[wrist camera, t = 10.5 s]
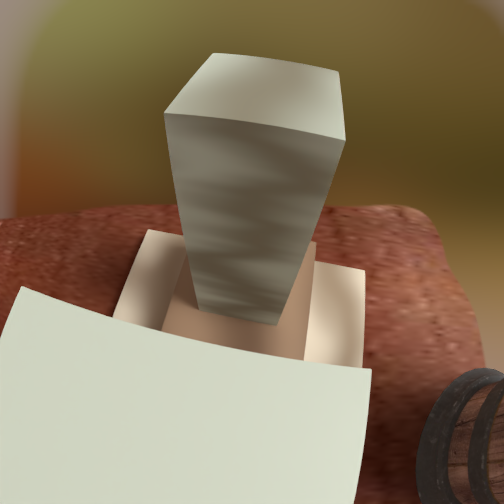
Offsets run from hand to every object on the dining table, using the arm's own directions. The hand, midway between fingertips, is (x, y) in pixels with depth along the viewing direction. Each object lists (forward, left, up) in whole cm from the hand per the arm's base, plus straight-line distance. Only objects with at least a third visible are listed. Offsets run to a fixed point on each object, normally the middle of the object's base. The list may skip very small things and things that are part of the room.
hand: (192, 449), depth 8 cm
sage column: (0, -1, -8) cm, 8 cm away
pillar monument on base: (0, +5, -14) cm, 15 cm away
